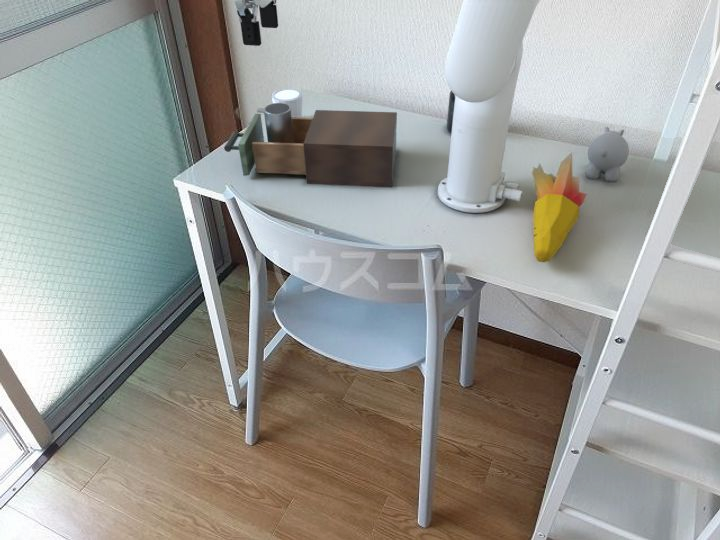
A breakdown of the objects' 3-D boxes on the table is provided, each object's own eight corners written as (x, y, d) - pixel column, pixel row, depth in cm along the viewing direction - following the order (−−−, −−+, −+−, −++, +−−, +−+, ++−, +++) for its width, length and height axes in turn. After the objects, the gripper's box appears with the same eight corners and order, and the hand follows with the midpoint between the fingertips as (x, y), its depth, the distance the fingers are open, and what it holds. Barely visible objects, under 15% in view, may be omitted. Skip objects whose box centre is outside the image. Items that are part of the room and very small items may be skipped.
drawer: (222, 174, 114) (216, 143, 109) (240, 142, 124) (235, 112, 120) (321, 178, 112) (319, 146, 108) (330, 145, 122) (329, 115, 118)
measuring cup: (297, 149, 119) (293, 102, 112) (292, 161, 115) (287, 114, 109) (266, 148, 119) (260, 102, 113) (260, 160, 116) (254, 113, 109)
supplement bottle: (481, 135, 127) (489, 81, 119) (452, 138, 126) (457, 85, 118) (470, 121, 132) (476, 69, 124) (442, 124, 131) (446, 72, 123)
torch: (529, 285, 94) (549, 191, 110) (579, 279, 89) (592, 181, 105) (511, 249, 90) (534, 156, 105) (562, 240, 85) (578, 145, 101)
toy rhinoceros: (626, 159, 118) (638, 120, 112) (618, 187, 109) (631, 147, 104) (590, 152, 120) (600, 113, 115) (579, 179, 112) (589, 139, 107)
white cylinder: (303, 130, 130) (300, 100, 125) (272, 130, 130) (269, 100, 126) (305, 117, 135) (303, 88, 131) (276, 117, 135) (273, 88, 131)
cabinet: (306, 183, 112) (303, 143, 107) (318, 147, 123) (315, 109, 118) (391, 187, 111) (392, 146, 105) (395, 150, 122) (396, 112, 117)
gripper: (253, -61, 87) (266, 53, 98) (286, -81, 100) (294, 22, 111) (206, -63, 88) (224, 51, 99) (245, -82, 101) (257, 20, 112)
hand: (261, 35), depth 105 cm, fingers open, 9 cm apart
